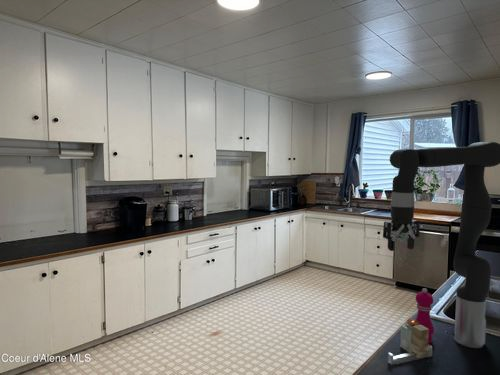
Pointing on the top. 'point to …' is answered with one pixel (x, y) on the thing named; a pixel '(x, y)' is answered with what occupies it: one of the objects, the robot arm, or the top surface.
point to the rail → (405, 357)
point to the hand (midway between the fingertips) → (400, 249)
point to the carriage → (420, 341)
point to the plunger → (412, 323)
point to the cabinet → (406, 337)
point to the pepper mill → (425, 311)
